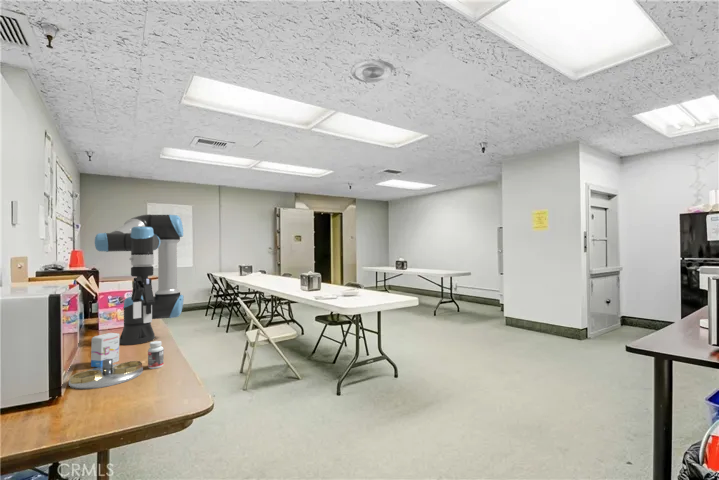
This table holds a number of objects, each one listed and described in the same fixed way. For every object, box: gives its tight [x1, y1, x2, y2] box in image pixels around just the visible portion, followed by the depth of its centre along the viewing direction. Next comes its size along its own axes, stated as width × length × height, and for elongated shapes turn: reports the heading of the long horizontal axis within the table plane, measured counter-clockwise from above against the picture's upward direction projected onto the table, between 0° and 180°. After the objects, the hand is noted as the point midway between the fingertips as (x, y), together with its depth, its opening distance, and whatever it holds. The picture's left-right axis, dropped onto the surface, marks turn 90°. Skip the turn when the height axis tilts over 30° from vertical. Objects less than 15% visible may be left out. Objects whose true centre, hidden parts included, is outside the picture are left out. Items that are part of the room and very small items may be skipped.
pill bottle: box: [147, 340, 165, 370], centre depth 138 cm, size 5×5×10 cm
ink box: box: [90, 332, 121, 368], centre depth 142 cm, size 9×5×12 cm, turn 168°
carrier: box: [68, 359, 144, 390], centre depth 128 cm, size 22×22×6 cm
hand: (142, 320), depth 136 cm, fingers open, 13 cm apart
